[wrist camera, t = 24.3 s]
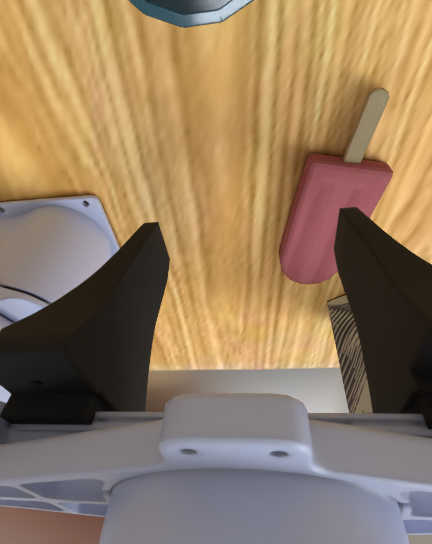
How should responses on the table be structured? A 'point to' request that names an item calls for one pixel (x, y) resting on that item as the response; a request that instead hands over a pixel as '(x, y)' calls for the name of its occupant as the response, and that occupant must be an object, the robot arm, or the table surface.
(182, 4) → the tumbler
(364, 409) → the box
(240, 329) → the table surface
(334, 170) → the popsicle
